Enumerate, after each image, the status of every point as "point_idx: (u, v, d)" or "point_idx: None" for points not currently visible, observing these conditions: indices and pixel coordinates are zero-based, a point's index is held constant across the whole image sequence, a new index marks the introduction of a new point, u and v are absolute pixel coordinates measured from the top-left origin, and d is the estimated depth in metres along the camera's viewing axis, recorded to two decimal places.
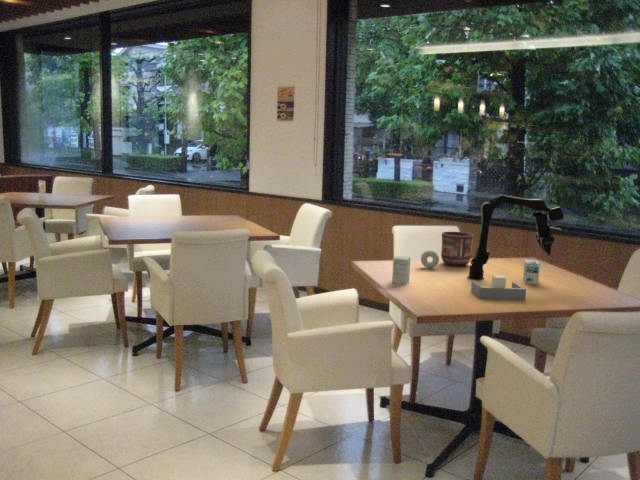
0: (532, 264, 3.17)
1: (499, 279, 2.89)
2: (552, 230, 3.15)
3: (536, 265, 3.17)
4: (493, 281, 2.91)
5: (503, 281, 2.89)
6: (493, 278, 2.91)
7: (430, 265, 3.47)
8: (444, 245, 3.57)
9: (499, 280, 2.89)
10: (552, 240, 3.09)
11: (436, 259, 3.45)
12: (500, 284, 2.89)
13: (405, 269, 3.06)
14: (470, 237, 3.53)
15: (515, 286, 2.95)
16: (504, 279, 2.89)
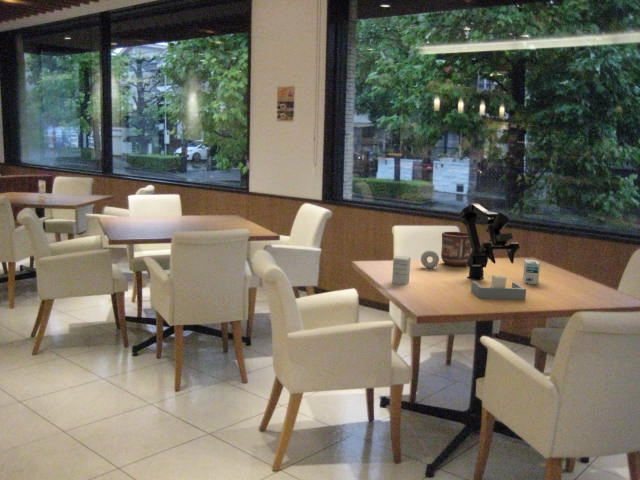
0: (532, 264, 3.17)
1: (499, 279, 2.89)
2: (496, 237, 3.00)
3: (536, 265, 3.17)
4: (493, 281, 2.91)
5: (503, 281, 2.89)
6: (493, 278, 2.91)
7: (430, 265, 3.47)
8: (444, 245, 3.57)
9: (499, 280, 2.89)
10: (483, 246, 2.99)
11: (436, 259, 3.45)
12: (500, 284, 2.89)
13: (405, 269, 3.06)
14: None
15: (515, 286, 2.95)
16: (504, 279, 2.89)
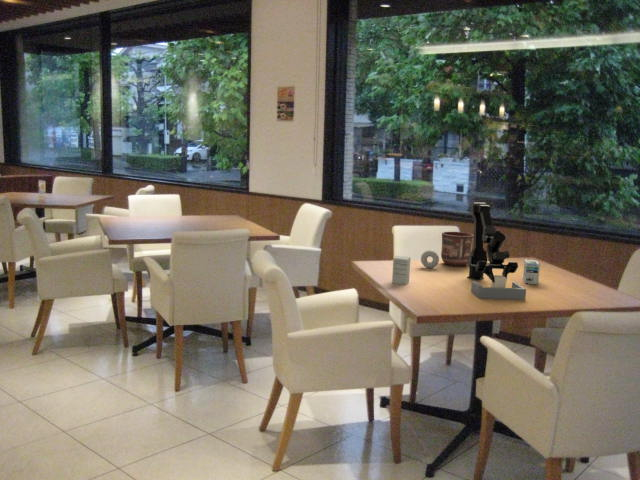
0: (532, 264, 3.17)
1: (499, 279, 2.88)
2: (492, 256, 2.93)
3: (536, 265, 3.17)
4: None
5: (503, 281, 2.89)
6: None
7: (430, 265, 3.47)
8: (444, 245, 3.57)
9: (499, 280, 2.89)
10: (478, 264, 2.93)
11: (436, 259, 3.45)
12: (500, 284, 2.89)
13: (405, 269, 3.06)
14: (470, 237, 3.53)
15: (515, 286, 2.95)
16: (504, 279, 2.89)
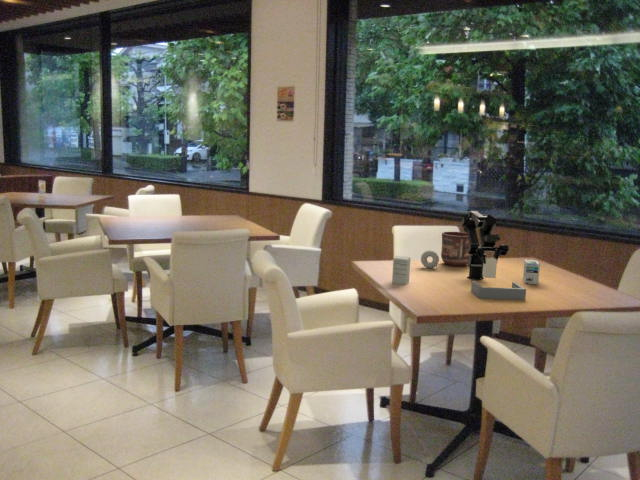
0: (532, 264, 3.17)
1: (490, 261, 3.00)
2: (484, 239, 3.05)
3: (536, 265, 3.17)
4: None
5: (494, 263, 3.01)
6: None
7: (430, 265, 3.47)
8: (444, 245, 3.57)
9: (490, 262, 3.01)
10: (470, 247, 3.05)
11: (436, 259, 3.45)
12: (491, 265, 3.01)
13: (405, 269, 3.06)
14: None
15: (515, 286, 2.95)
16: (495, 261, 3.00)
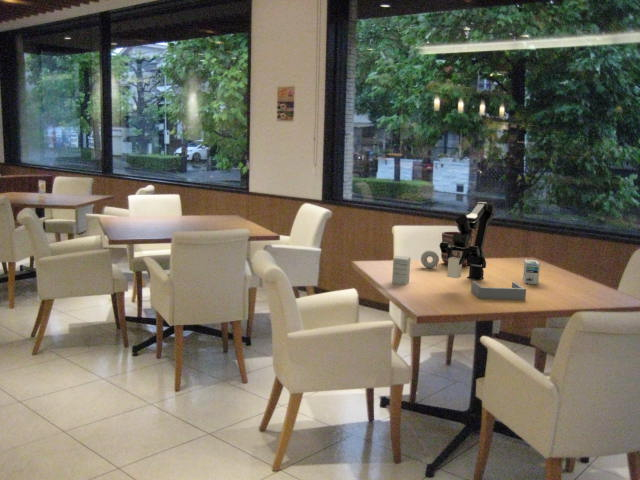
0: (532, 264, 3.17)
1: (452, 260, 2.96)
2: None
3: (536, 265, 3.17)
4: None
5: (456, 262, 2.95)
6: None
7: (430, 265, 3.47)
8: None
9: (452, 261, 2.96)
10: None
11: (436, 259, 3.45)
12: (453, 265, 2.96)
13: (405, 269, 3.06)
14: None
15: (515, 286, 2.95)
16: (456, 260, 2.94)
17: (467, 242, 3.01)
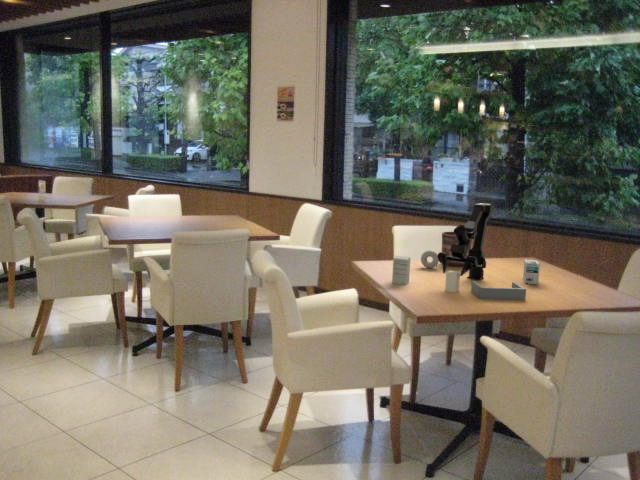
0: (532, 264, 3.17)
1: (450, 274, 2.95)
2: None
3: (536, 265, 3.17)
4: None
5: (453, 276, 2.95)
6: None
7: (430, 265, 3.47)
8: (444, 245, 3.57)
9: (450, 275, 2.95)
10: None
11: (436, 259, 3.45)
12: (451, 279, 2.95)
13: (405, 269, 3.06)
14: None
15: (515, 286, 2.95)
16: (454, 274, 2.94)
17: (465, 252, 3.00)
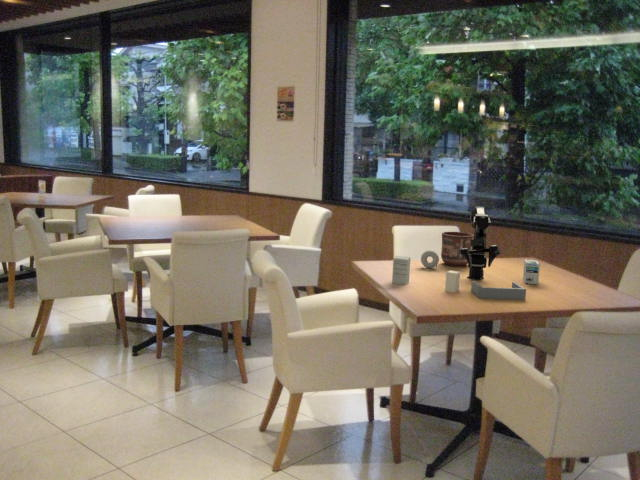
0: (532, 264, 3.17)
1: (450, 274, 2.95)
2: None
3: (536, 265, 3.17)
4: None
5: (453, 276, 2.95)
6: None
7: (430, 265, 3.47)
8: (444, 245, 3.57)
9: (450, 275, 2.95)
10: None
11: (436, 259, 3.45)
12: (451, 279, 2.95)
13: (405, 269, 3.06)
14: (470, 237, 3.53)
15: (515, 286, 2.95)
16: (454, 274, 2.94)
17: (485, 242, 3.06)
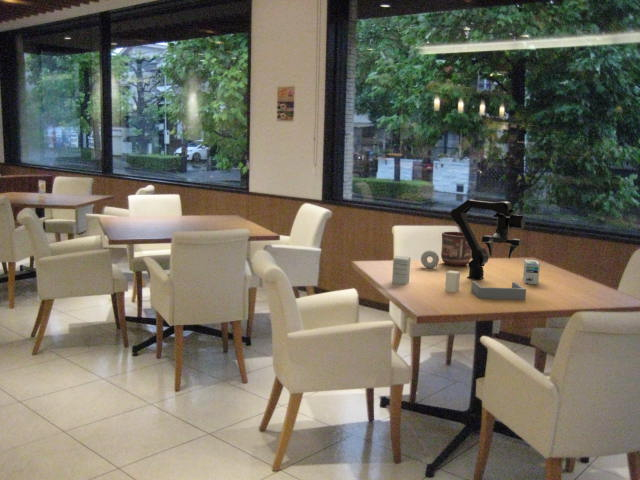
0: (532, 264, 3.17)
1: (450, 274, 2.95)
2: None
3: (536, 265, 3.17)
4: None
5: (453, 276, 2.95)
6: None
7: (430, 265, 3.47)
8: (444, 245, 3.57)
9: (450, 275, 2.95)
10: None
11: (436, 259, 3.45)
12: (451, 279, 2.95)
13: (405, 269, 3.06)
14: None
15: (515, 286, 2.95)
16: (454, 274, 2.94)
17: (507, 233, 3.13)
